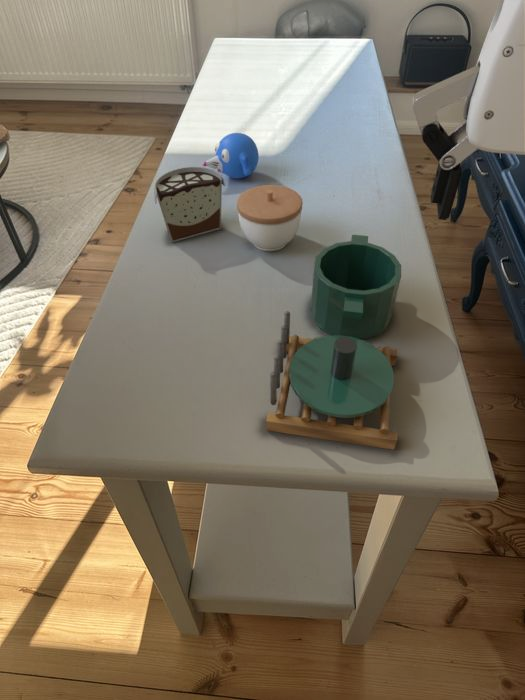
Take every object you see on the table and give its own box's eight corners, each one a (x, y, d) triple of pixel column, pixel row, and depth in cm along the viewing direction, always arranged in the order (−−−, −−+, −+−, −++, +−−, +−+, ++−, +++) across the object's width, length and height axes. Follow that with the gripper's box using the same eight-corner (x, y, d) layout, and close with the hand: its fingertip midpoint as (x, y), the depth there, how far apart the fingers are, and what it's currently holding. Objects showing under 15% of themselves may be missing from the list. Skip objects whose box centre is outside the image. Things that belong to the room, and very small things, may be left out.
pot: (390, 280, 76) (401, 234, 70) (389, 359, 65) (401, 313, 59) (317, 272, 78) (321, 227, 72) (304, 348, 67) (307, 302, 60)
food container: (215, 210, 91) (210, 159, 84) (228, 226, 88) (224, 174, 80) (153, 227, 88) (142, 175, 80) (163, 244, 84) (153, 192, 77)
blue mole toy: (193, 172, 102) (188, 131, 96) (244, 159, 105) (242, 119, 99) (216, 198, 94) (212, 156, 88) (269, 183, 98) (269, 142, 92)
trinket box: (247, 264, 80) (245, 214, 73) (233, 229, 87) (229, 180, 80) (309, 253, 82) (312, 203, 75) (289, 219, 89) (291, 171, 82)
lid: (392, 347, 62) (401, 313, 58) (392, 428, 54) (402, 395, 50) (296, 335, 64) (298, 302, 60) (281, 412, 56) (281, 379, 51)
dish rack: (394, 359, 65) (407, 314, 59) (394, 449, 56) (409, 407, 49) (284, 345, 67) (286, 300, 61) (266, 430, 58) (265, 387, 52)
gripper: (452, -65, 24) (392, 233, 36) (860, -66, 21) (643, 254, 34) (443, -84, 29) (392, 184, 41) (772, -87, 26) (612, 199, 39)
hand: (505, 215), depth 38 cm, fingers open, 9 cm apart
